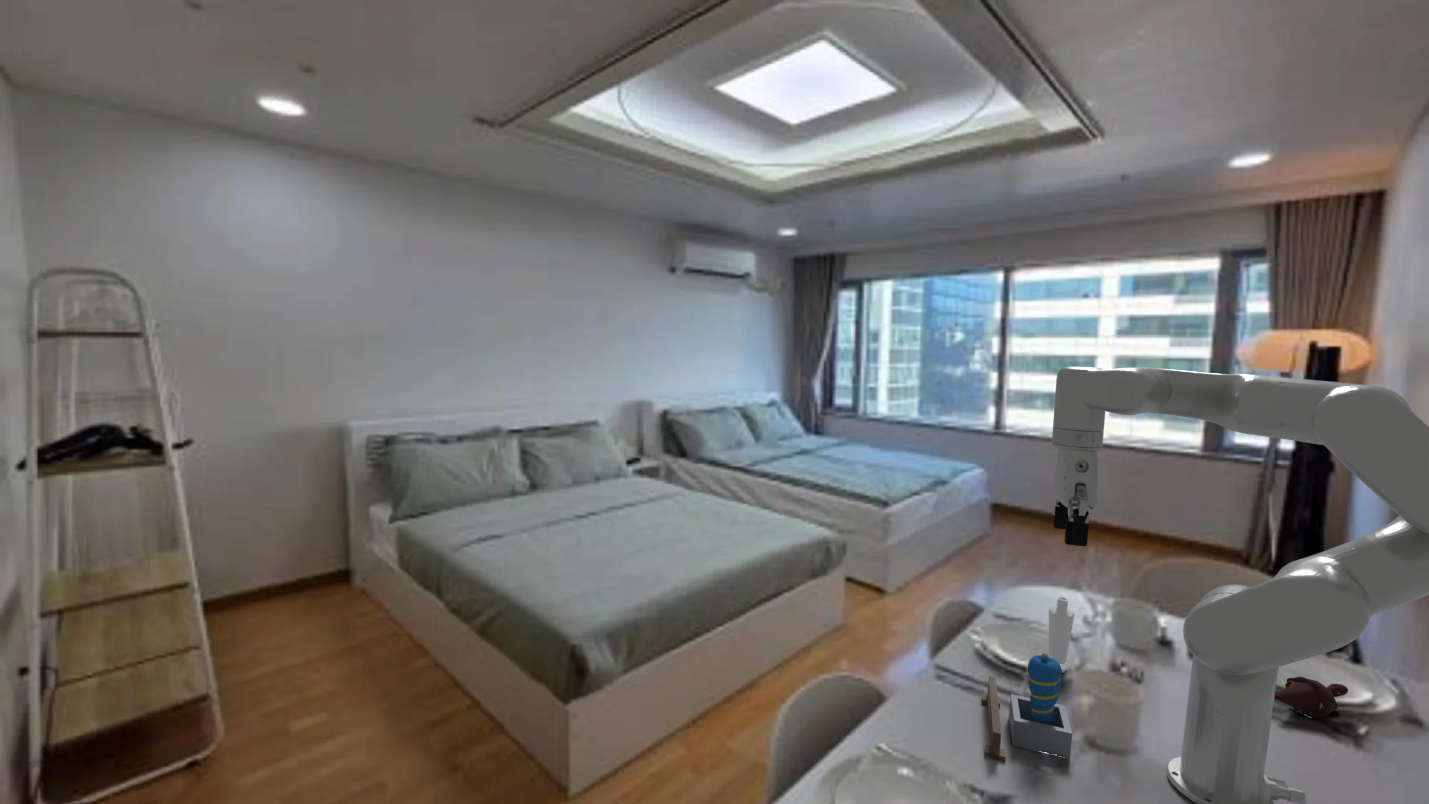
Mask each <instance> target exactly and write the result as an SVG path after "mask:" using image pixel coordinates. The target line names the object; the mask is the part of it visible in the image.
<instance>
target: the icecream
mask: <svg viewBox="0 0 1429 804" xmlns="http://www.w3.org/2000/svg"><path fill="white" fill-rule="evenodd" d="M1284 686H1285V688H1283V689H1281V690H1279V691H1277V692H1275V697H1274V700H1277V701H1279V702H1281V703H1284V704H1286V705H1288V706H1291V707H1292V708H1293V709H1294V711H1295V710H1296V711H1299V712H1301V713H1303V714H1306V715H1307V716H1310V717H1312V718H1314V719H1313V720H1316V719H1319V718H1323V717H1328V716H1329V714H1331V713H1332V712H1334V711H1336V710H1337V709H1338V708H1339V707H1338V706H1337V705H1338V702H1337V701H1336V698H1338V697H1343V696H1346V695H1347V694H1348V693H1349V688H1348V687H1347V686H1346V685H1344V684H1342V683H1341V684H1340V683H1330V684H1329V685H1328V686H1325V685H1324V684H1322V683H1321V682H1320V681H1318V680H1314V679H1310V678H1306V677H1304V676H1296V677H1287V678H1286V683H1285V684H1284ZM1296 711H1295V712H1296Z"/></svg>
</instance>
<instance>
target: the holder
mask: <svg viewBox="0 0 1429 804" xmlns="http://www.w3.org/2000/svg"><path fill="white" fill-rule="evenodd" d="M1008 709H1009V710H1008V723H1009V730H1010V740H1011V741H1010V742H1011V746H1012V747H1014V748H1019V749H1022V750H1027V751H1032V750H1033V751H1032V752H1035V751H1042V752H1047V753H1049V754H1057V756H1062V757H1065V758H1066V759H1065V760H1068V759H1069V760H1068V761H1070V760H1071V753H1072V752H1071V751H1072V741H1073V731H1072V729H1071V724H1070V721H1069V717H1068V713H1067V710H1066V706H1065V705H1064V704H1059V703H1056V704H1055V705H1054V714H1053V716H1052V719H1051V721H1050V722H1049V724H1048V725H1047V724H1042V723H1038V722H1034V721H1033V719H1032V716H1031V711H1032V706H1031V702H1030V697H1026V696H1021V695H1017V694H1013V693H1010V698H1009V708H1008ZM1034 750H1035V751H1034Z"/></svg>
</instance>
